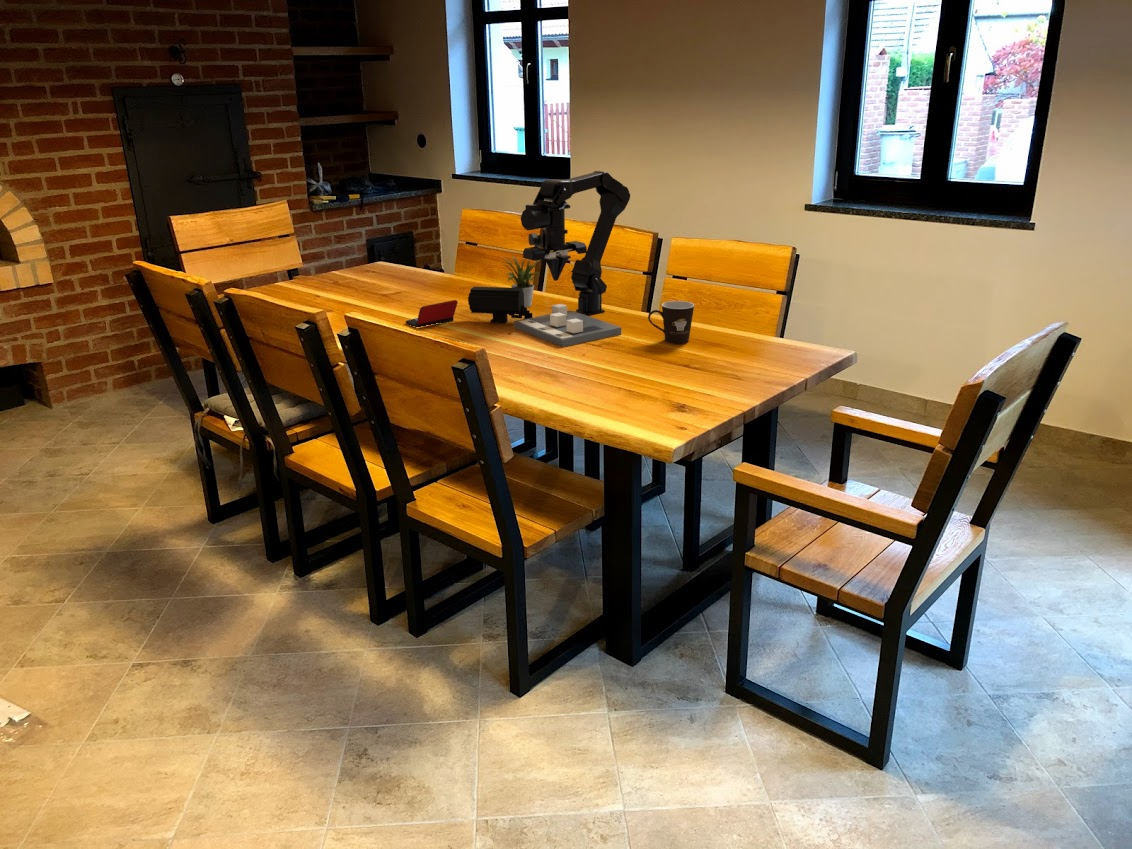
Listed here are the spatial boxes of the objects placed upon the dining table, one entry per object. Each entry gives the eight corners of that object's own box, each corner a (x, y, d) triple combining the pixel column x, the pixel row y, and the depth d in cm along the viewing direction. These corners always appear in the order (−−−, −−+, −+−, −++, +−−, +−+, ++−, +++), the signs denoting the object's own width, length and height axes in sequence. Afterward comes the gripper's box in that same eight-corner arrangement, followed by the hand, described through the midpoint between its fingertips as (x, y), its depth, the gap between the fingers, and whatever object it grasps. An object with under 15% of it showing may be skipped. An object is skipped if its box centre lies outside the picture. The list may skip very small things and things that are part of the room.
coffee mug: (695, 337, 248) (697, 302, 245) (689, 346, 241) (690, 309, 237) (654, 334, 252) (655, 299, 248) (646, 343, 244) (647, 306, 241)
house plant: (488, 308, 281) (486, 256, 275) (507, 298, 292) (505, 248, 286) (530, 312, 276) (529, 259, 269) (548, 302, 287) (547, 250, 281)
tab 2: (559, 322, 256) (559, 312, 255) (566, 325, 253) (566, 314, 252) (550, 324, 254) (550, 314, 253) (556, 327, 252) (556, 316, 251)
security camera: (529, 326, 261) (528, 292, 257) (467, 324, 264) (466, 290, 261) (534, 320, 267) (534, 287, 264) (474, 318, 271) (472, 285, 267)
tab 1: (560, 313, 265) (560, 303, 264) (567, 315, 263) (567, 305, 262) (551, 315, 263) (551, 305, 262) (558, 317, 261) (557, 307, 260)
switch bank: (570, 316, 271) (570, 309, 270) (621, 334, 252) (621, 326, 252) (514, 327, 260) (514, 320, 259) (562, 347, 242) (562, 339, 241)
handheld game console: (441, 317, 273) (439, 292, 270) (460, 324, 265) (458, 299, 263) (404, 324, 266) (402, 299, 263) (422, 332, 258) (420, 306, 255)
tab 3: (576, 328, 250) (576, 318, 249) (583, 331, 247) (582, 320, 246) (566, 330, 248) (566, 320, 247) (573, 333, 246) (573, 322, 244)
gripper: (565, 219, 268) (565, 271, 273) (511, 225, 258) (513, 280, 263) (587, 223, 259) (587, 277, 265) (533, 231, 249) (534, 287, 255)
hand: (555, 280), depth 262 cm, fingers closed
